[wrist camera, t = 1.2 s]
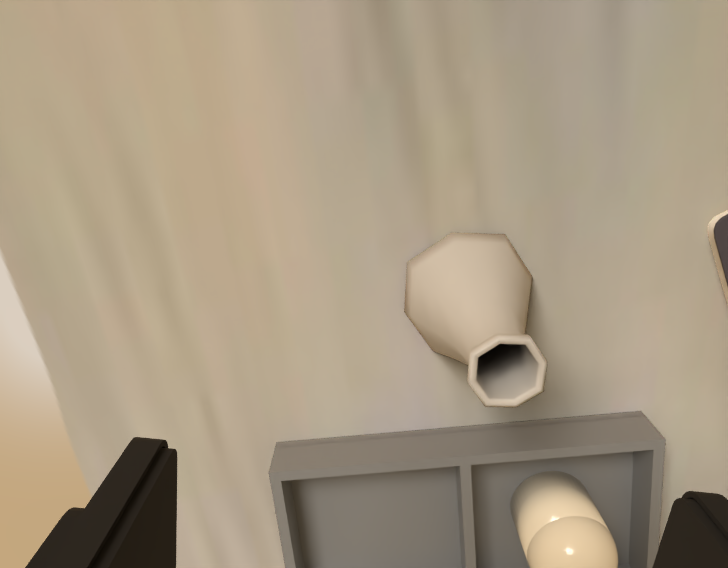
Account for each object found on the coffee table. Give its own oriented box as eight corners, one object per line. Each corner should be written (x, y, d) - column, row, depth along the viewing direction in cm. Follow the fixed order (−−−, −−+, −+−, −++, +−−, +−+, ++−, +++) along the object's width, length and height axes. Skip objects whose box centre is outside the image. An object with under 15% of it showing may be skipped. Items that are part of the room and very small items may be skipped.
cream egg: (589, 467, 35) (635, 545, 29) (588, 533, 37) (631, 619, 31) (509, 474, 36) (538, 552, 30) (511, 539, 37) (539, 626, 31)
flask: (543, 333, 34) (614, 427, 24) (420, 366, 34) (441, 471, 25) (516, 212, 31) (582, 263, 22) (386, 250, 32) (394, 315, 23)
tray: (640, 410, 35) (665, 439, 32) (633, 563, 38) (655, 600, 36) (276, 442, 36) (268, 472, 33) (301, 588, 39) (296, 627, 36)
